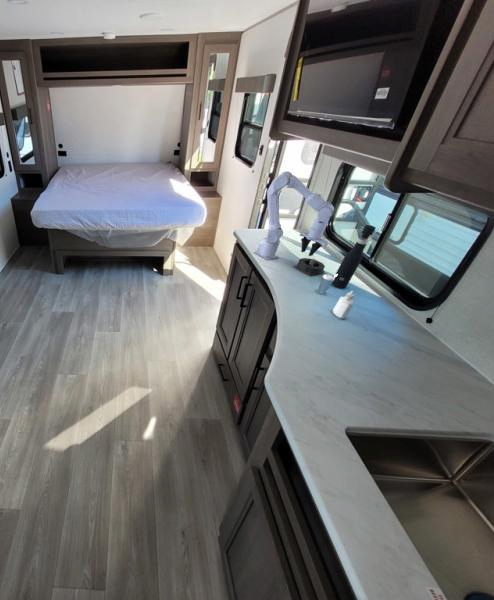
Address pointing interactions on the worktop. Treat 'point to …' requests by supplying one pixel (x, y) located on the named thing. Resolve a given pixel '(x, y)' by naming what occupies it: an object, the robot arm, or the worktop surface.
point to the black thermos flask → (352, 260)
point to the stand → (309, 265)
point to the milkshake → (325, 283)
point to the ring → (314, 269)
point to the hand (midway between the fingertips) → (306, 253)
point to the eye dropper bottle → (344, 305)
